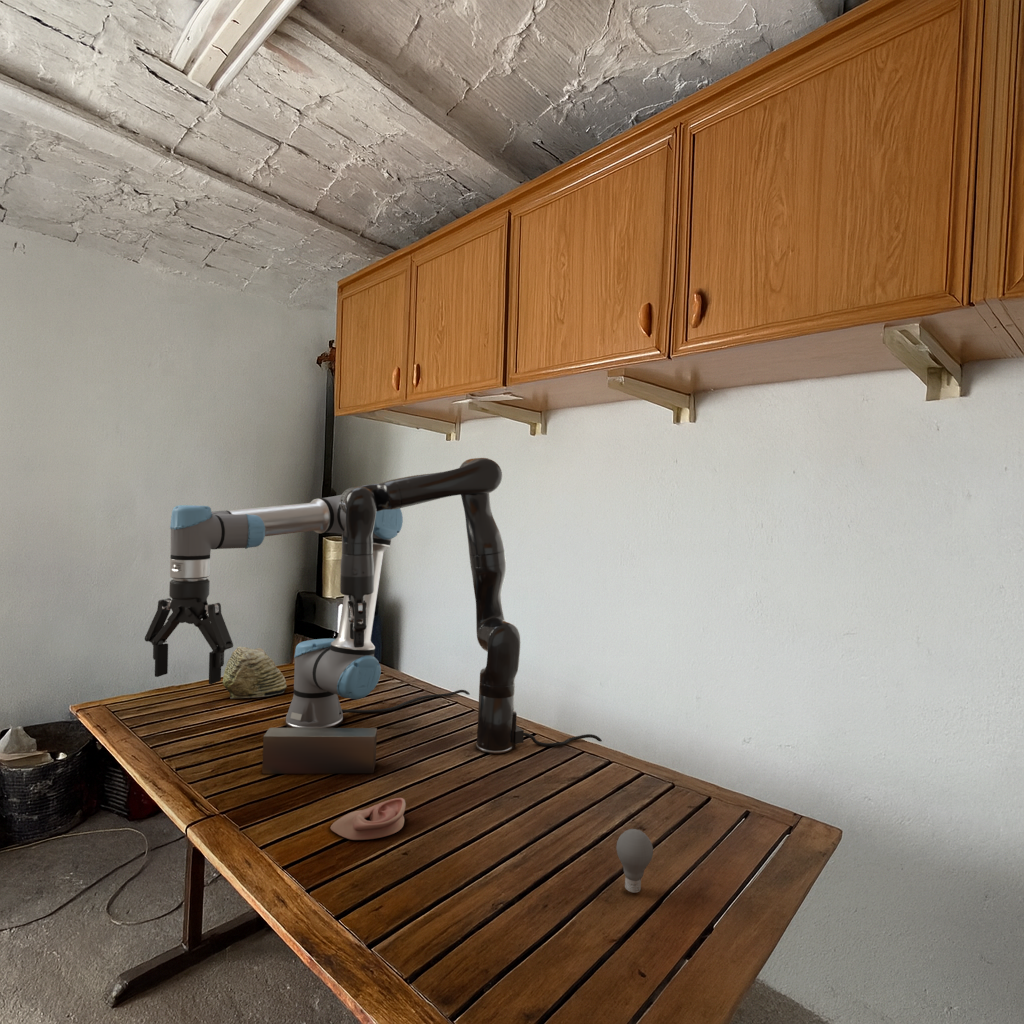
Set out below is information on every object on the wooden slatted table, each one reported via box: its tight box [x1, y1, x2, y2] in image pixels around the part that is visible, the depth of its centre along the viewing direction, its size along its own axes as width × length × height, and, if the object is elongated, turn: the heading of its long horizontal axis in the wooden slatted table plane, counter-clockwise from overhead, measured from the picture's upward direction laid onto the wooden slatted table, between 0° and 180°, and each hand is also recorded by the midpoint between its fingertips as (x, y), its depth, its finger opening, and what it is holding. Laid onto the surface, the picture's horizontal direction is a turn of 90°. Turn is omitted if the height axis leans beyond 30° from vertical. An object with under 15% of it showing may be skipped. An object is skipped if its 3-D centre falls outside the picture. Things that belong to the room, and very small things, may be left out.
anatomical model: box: [330, 797, 407, 841], centre depth 123 cm, size 13×4×12 cm
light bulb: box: [615, 828, 654, 894], centre depth 106 cm, size 6×6×10 cm
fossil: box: [222, 646, 288, 699], centre depth 198 cm, size 9×18×15 cm, turn 132°
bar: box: [261, 727, 378, 775], centre depth 147 cm, size 25×5×9 cm, turn 96°
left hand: (187, 678), depth 134 cm, fingers open, 13 cm apart
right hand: (356, 642), depth 147 cm, fingers open, 8 cm apart
